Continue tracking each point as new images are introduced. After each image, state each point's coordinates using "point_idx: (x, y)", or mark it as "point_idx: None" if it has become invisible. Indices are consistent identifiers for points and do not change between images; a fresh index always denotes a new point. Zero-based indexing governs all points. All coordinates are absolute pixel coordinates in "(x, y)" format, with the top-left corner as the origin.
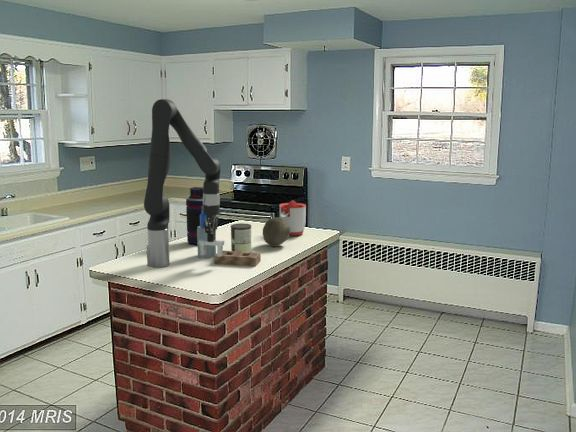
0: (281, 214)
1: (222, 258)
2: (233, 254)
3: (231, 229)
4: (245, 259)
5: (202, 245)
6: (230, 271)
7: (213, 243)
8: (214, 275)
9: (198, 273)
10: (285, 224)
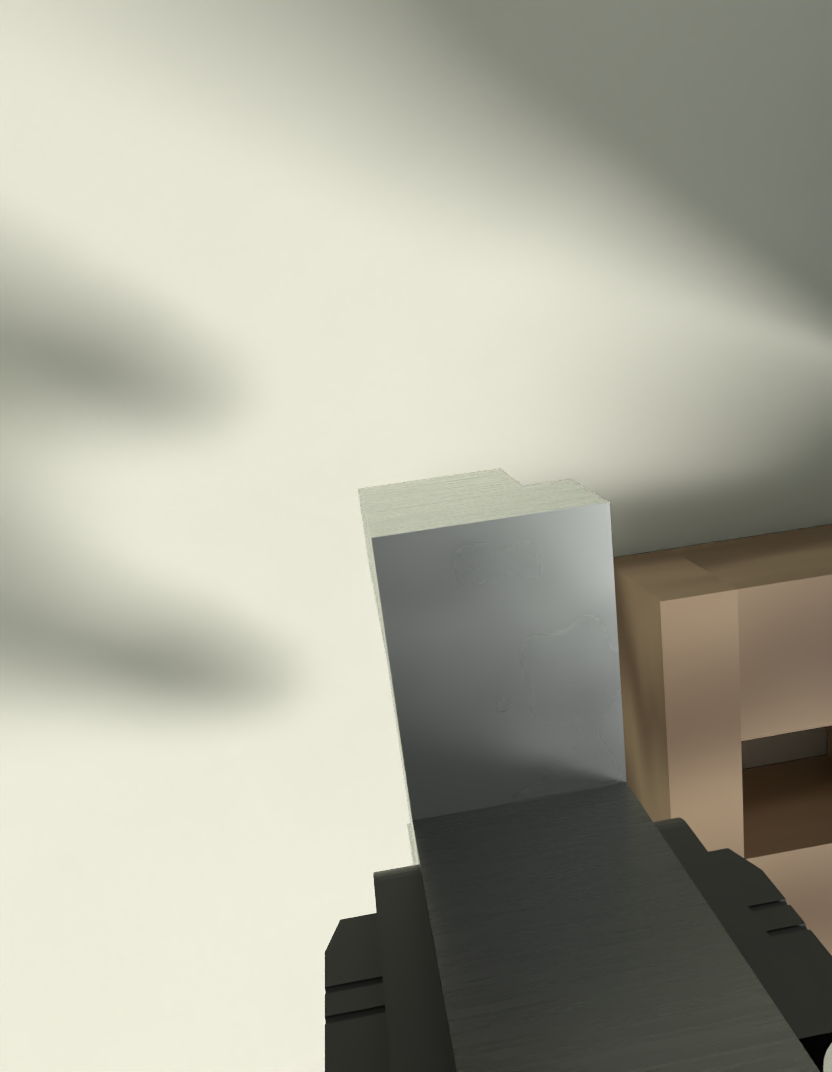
0: None
1: (646, 725)
2: (791, 867)
3: None
4: None
5: (379, 614)
6: (314, 933)
7: None
8: (49, 835)
9: (32, 580)
10: None
